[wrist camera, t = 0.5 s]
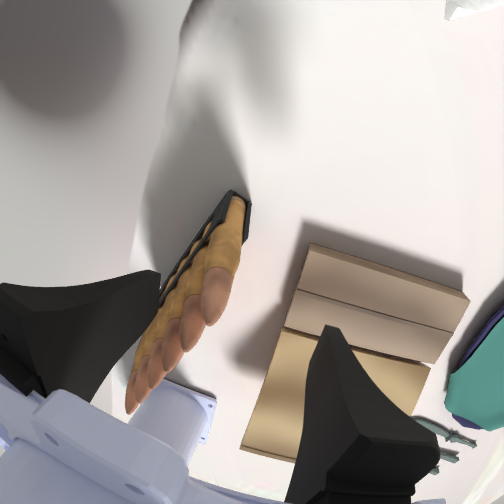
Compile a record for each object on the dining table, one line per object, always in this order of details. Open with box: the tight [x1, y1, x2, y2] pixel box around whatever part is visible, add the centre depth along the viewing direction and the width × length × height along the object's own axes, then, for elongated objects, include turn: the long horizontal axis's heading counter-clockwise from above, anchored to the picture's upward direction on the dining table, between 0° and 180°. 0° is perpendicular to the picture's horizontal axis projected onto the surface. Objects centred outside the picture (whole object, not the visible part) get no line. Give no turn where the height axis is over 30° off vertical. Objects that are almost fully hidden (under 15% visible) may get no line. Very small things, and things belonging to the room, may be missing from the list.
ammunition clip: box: [125, 190, 252, 415], centre depth 17 cm, size 11×2×12 cm, turn 143°
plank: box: [240, 328, 431, 463], centre depth 21 cm, size 11×13×2 cm
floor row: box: [284, 243, 470, 364], centre depth 20 cm, size 6×13×2 cm, turn 77°
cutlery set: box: [414, 305, 504, 475], centre depth 20 cm, size 20×30×2 cm, turn 151°
